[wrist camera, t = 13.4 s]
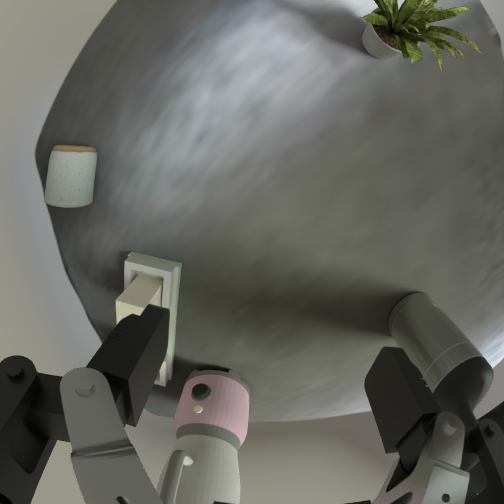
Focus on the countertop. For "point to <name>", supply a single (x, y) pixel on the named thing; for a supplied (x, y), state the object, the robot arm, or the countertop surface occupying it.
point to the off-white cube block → (139, 296)
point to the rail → (171, 276)
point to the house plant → (409, 30)
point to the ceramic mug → (71, 176)
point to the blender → (207, 440)
